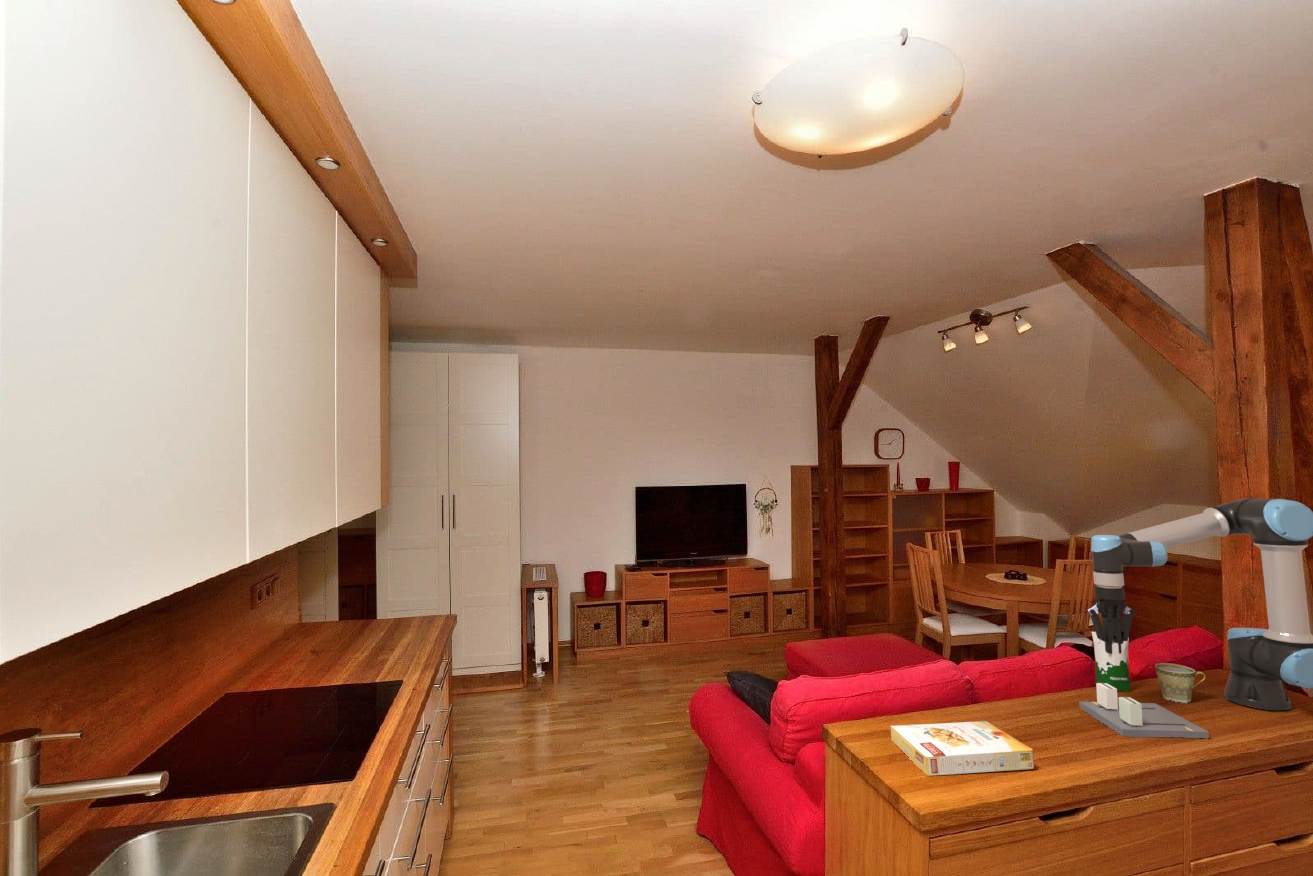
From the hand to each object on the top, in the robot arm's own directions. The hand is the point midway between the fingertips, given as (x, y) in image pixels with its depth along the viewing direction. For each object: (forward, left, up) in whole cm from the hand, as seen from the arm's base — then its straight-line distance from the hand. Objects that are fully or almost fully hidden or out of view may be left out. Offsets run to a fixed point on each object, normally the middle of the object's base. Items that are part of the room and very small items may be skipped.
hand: (1114, 664), depth 187 cm
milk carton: (-13, -24, -15) cm, 31 cm away
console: (-3, +6, -15) cm, 16 cm away
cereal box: (+57, +32, -16) cm, 67 cm away
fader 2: (+3, +12, -13) cm, 18 cm away
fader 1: (+3, 0, -13) cm, 13 cm away
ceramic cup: (-28, -14, -15) cm, 35 cm away
